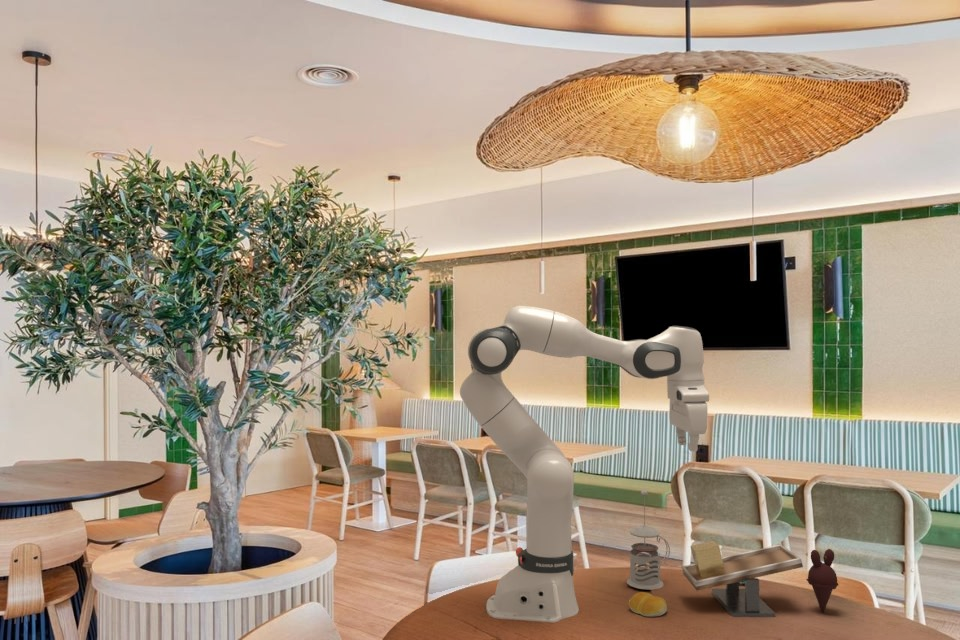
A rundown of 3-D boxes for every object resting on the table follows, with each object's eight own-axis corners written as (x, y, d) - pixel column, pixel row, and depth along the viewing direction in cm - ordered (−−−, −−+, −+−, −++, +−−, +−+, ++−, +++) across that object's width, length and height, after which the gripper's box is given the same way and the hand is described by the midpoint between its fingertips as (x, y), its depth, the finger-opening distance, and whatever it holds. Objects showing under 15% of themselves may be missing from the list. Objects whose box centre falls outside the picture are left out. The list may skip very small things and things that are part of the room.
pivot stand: (733, 618, 166) (732, 580, 166) (711, 593, 181) (711, 559, 182) (775, 618, 165) (775, 580, 166) (750, 593, 181) (749, 559, 182)
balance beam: (698, 596, 168) (695, 582, 168) (684, 579, 179) (681, 566, 180) (804, 572, 168) (801, 558, 168) (783, 556, 179) (780, 544, 179)
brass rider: (701, 578, 172) (695, 550, 172) (696, 573, 176) (690, 545, 176) (725, 573, 172) (718, 545, 172) (720, 568, 176) (713, 540, 176)
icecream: (827, 605, 173) (826, 544, 174) (846, 617, 166) (845, 553, 166) (800, 606, 172) (799, 545, 173) (818, 618, 165) (817, 554, 165)
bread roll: (653, 620, 163) (652, 603, 163) (623, 611, 170) (622, 594, 170) (675, 610, 168) (674, 593, 169) (645, 601, 175) (644, 585, 175)
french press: (621, 577, 194) (621, 486, 194) (662, 575, 195) (661, 485, 195) (633, 590, 184) (632, 494, 184) (675, 588, 185) (675, 493, 186)
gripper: (662, 388, 183) (664, 441, 183) (684, 395, 163) (686, 455, 162) (686, 388, 183) (688, 441, 183) (711, 394, 163) (713, 454, 162)
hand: (687, 447), depth 173 cm, fingers open, 8 cm apart
